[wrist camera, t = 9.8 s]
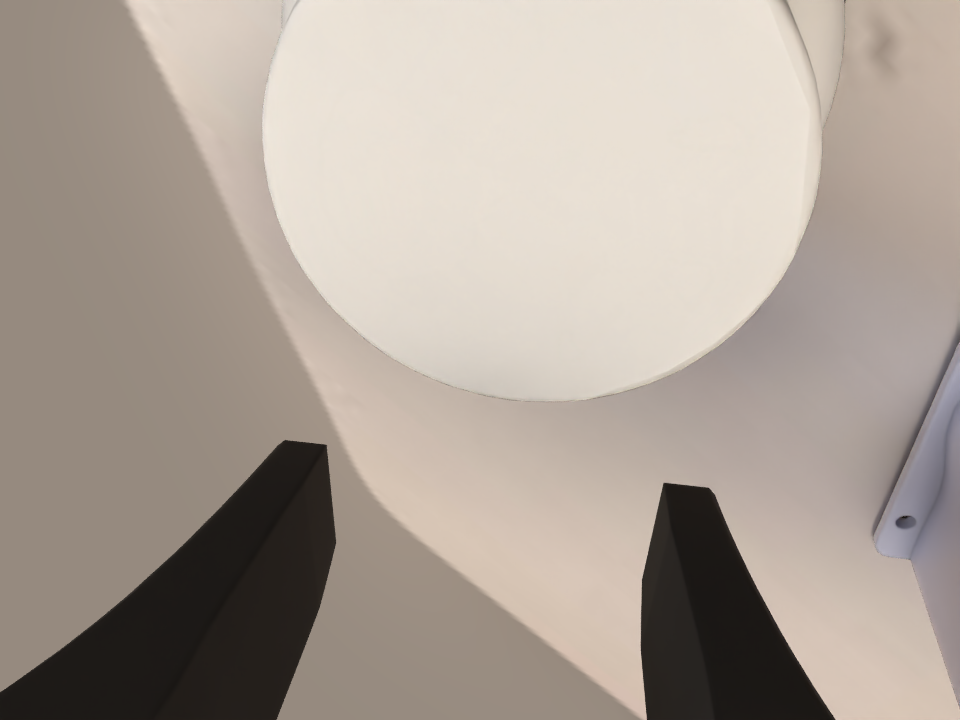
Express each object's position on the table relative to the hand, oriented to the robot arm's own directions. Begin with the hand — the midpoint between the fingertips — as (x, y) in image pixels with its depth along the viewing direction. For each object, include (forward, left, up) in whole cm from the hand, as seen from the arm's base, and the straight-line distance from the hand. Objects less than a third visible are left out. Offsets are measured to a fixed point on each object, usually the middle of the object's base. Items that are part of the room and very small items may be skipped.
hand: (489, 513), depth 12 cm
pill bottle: (+6, 0, -9) cm, 11 cm away
